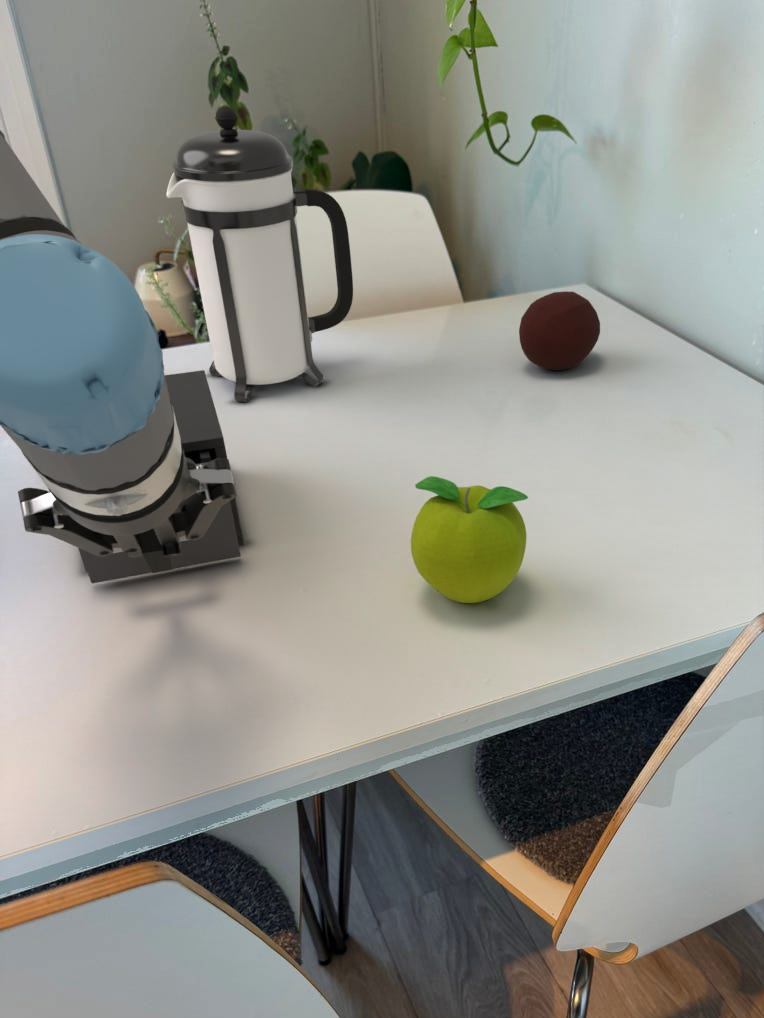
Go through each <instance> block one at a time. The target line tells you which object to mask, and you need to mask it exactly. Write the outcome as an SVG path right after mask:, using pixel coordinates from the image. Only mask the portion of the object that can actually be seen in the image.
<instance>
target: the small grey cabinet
mask: <svg viewBox="0 0 764 1018" xmlns="http://www.w3.org/2000/svg"><path fill="white" fill-rule="evenodd" d="M205 371H206V370H204V369H203V370H202V369H201V370H194V371H186V372H179V373H171V374H164V375H165V379H166V384H167V388H168V393H169V397H170V401H171V404H172V406H173V410H174V414H175V418H176V422H177V426H178V430H179V434H180V439H181V443H182V447H183V451H184V453H185V452H192V451H198V450H205V449H208V450H209V454H210V458H211V461H212V460H214V459H216V458H227V459H228V454H227V448H226V444H225V443H226V442H225V438H224V435H223V431H222V428H221V424H220V421H219V418H218V414H217V410H216V407H215V402H214V400H213V399H214V398H213V396H212V392H211V389H210V386H209V382H208V378H207V375H206V372H205ZM230 505H231V510H232V515H233V520H234V525H235V530H236V535H237V540H238V545H239V546H244V545H245V542H244V541H245V540H244V536H243V533H242V526H241V522H240V515H239V511H238V505H237V500H236V497H235V498H234V499H232V500H230ZM78 552H79V554H80V557H81V560H82V563H83V567H84V569H85V573H87V574H88V572H87V569H86V566H85V563H84V560H83V557H82V553H81V550H80V548H78Z"/></svg>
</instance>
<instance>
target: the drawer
mask: <svg viewBox="0 0 764 1018" xmlns="http://www.w3.org/2000/svg"><path fill="white" fill-rule="evenodd" d="M184 455H185V457H187V458H189V459H191V460H192V461H193V462H194V463H195V465H196V467H197V466H199V465H204V466H205V465H206V464H207V463H209V462H210V461H211V458H210V454H209V450H208V449H205V450H198V451H192V452H185V453H184ZM180 504H181V503H180ZM180 504H179V506H180ZM179 506H178V507H177V509H176V510H175V511H174V512H173V514H174V513H178V512H180V507H179ZM179 539H180V544H181V548H180V552H181V553H180V554H179V555H176V556H171V557H170V562H171V566H172V570H174V569H179V568H185V567H191V566H196V565H201V564H207V563H213V562H219V561H223V560H229V559H234V558H239V557H241V552H240V551H241V550H240V545H238V540H237V535H236V530H235V525H234V520H233V515H232V510H231V505H230V501H229V502H227V503H226V504H224V505H223V506H221V508H220V510H219V511H218V513H217V515H216V516H215V518H214V520H213V521H212V523H211V524H210V526H209V528H208V529H207V531H206V533H205V534H204V536H203V537H202V538H199V539H198V540H187V539H186V535H185V536H182V537H180V538H179ZM80 550H81V553H82V557H83V560H84V563H85V566H86V569H87V572H88V573H87V575H88V577H89V581H90V583H91V584H96V583H103V582H108V581H114V580H119V579H125V578H130V577H135V576H140V575H141V576H142V575H147V574H151V573H152V571H151V569H150V567H149V565H148V564H147V562H146V560H145V558H144V556H140V557H134V558H132V557H129V556H128V555H127V554H126V553H124V552H123V551H122V549H121V548H113V553H112V554H110V555H108V556H104V557H101V556H96V555H94V554H92V553H89V552H87V551H85V550H83V549H80ZM82 557H81V558H82ZM152 574H153V573H152Z"/></svg>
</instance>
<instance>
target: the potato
mask: <svg viewBox="0 0 764 1018" xmlns="http://www.w3.org/2000/svg"><path fill="white" fill-rule="evenodd" d="M518 334H519V335H518V337H519V344H520V348H521V350H522V352H523V354H524V356H525V357H526V358H527V359H528V361H529V362H531V363H532V364H534V365H536V366H538V367H539V368H542V369H545V370H550V371H562V370H568V369H570V368H574V367H575V366H577V365H579V364H580V363H581V362H582V361H584V359H586V358H587V357H588V356H589V355H590V353H592V351H593V349H594V348H595V346H596V345H597V343H598V341H599V337H600V334H601V322H600V318H599V316H598V312H597V310H596V309H595V308H594V306H593V305H592V303H591V302H590V301H589V299H587V298H585V297H584V296H582V295H580V294H579V293H577V292H575V291H566V290H565V291H553V292H552V293H548V294H546V295H544V296H542V297H540V298H537V299H536V300H534V301H532V302H531V303H530V304H529V306H528V307H527V309H526V310H525V312H524V313H523V315H522V317H521V318H520V324H519V328H518Z"/></svg>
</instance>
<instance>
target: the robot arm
mask: <svg viewBox="0 0 764 1018" xmlns="http://www.w3.org/2000/svg"><path fill="white" fill-rule="evenodd" d="M165 375H166V374H165V365H164V355H163V350H162V348H161V345H160V342H159V332H158V330H157V328H156V325H155V323H154V321H153V318H152V317H151V315H150V313H149V312H148V311H147V310H146V309H145V306H144V302H142V299H141V296H140V294H139V292H138V290H137V289H136V287H135V286H134V284H133V283H132V281H131V280H130V278H129V277H128V276H127V275H126V274H125V273H124V271H122V269H121V268H120V267H119V266H118V265H117V264H115V262H113V261H112V260H111V259H109V258H107V257H106V256H104V255H103V254H101V253H100V252H98V251H96V250H94V249H92V248H90V247H88V246H86V245H84V244H83V243H82V242H80V240H78V239H77V237H76V236H75V235H74V233H73V232H72V231H71V229H69V228H68V227H67V226H65V224H64V223H63V221H62V220H61V218H60V217H59V216H58V214H57V213H56V211H55V210H54V208H53V206H52V205H51V204H50V202H49V201H48V199H47V198H46V197H45V195H44V194H43V192H42V191H41V190H40V188H39V186H38V185H37V183H36V182H35V180H34V178H32V176H31V175H30V173H29V172H28V170H27V169H26V167H25V166H24V165H23V163H22V162H21V160H20V159H19V157H18V156H17V155H16V153H15V151H14V150H13V148H12V147H11V145H10V144H9V143H8V141H7V140H6V137H5V134H4V132H3V131H2V130H1V129H0V427H1V428H2V429H3V430H4V432H5V433H6V434H7V435H8V436H9V437H10V439H11V440H12V441H13V442H14V443H15V445H16V446H17V447H18V448H19V449H20V451H21V453H22V455H23V456H24V458H25V459H26V460H27V462H28V463H29V465H31V467H32V468H33V470H34V471H35V473H36V474H37V475H38V477H39V478H40V479H41V481H42V483H44V486H45V487H46V488H47V489H41V488H37V487H24V488H23V489H20V490H19V489H18V491H17V495H18V501H19V505H20V510H21V515H22V521H23V526H24V531H25V532H27V533H33V534H39V535H47V536H50V537H53V538H55V539H57V540H60V541H63V542H64V543H67V544H69V545H71V546H73V547H76V548H78V549H79V548H80V549H83V550H85V551H87V552H89V553H92V554H94V555H96V556H101V557H104V556H108V555H110V554H112V553H113V548H121V549H122V551H123V552H124V553H126V554H127V555H128V556H129V557H132V558H134V557H140V556H144V558H145V560H146V562H147V564H148V565H149V567H150V569H151V571H152V574H156V573H157V574H158V573H162V572H167V571H173V569H172V566H171V562H170V557H171V556H176V555H179V554H180V553H181V552H180V548H181V544H180V539H179V538H180V537H182V536H185V535H186V539H187V540H198V539H199V538H202V537H203V536H204V534H205V533H206V531H207V529H208V528H209V526H210V524H211V523H212V521H213V520H214V518H215V516H216V515H217V513H218V511H219V510H220V508H221V506H223V505H224V504H226V503H227V502H229V501H230V500H232V499H234V498H235V499H236V498H237V491H236V486H235V482H234V477H233V472H232V469H231V464H230V460H229V458H228V457H227V458H216V459H214V460H212V461H210V462H209V463H207V464H206V465H205V466H204V465H199V466H197V467H196V465H195V463H194V462H193V461H192V460H191V459H189V458H187V457H185V455H184V451H183V447H182V443H181V439H180V434H179V430H178V426H177V422H176V418H175V414H174V410H173V406H172V404H171V401H170V397H169V393H168V388H167V384H166V379H165ZM180 503H181V504H180ZM179 504H180V506H179ZM178 506H179V507H180V512H178V513H174V514H173V512H174V511H175V510H176V509H177V507H178Z"/></svg>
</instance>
